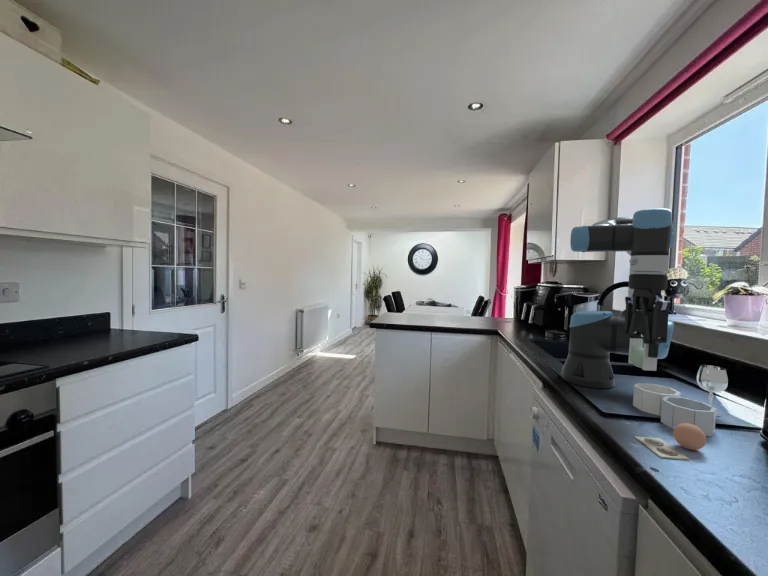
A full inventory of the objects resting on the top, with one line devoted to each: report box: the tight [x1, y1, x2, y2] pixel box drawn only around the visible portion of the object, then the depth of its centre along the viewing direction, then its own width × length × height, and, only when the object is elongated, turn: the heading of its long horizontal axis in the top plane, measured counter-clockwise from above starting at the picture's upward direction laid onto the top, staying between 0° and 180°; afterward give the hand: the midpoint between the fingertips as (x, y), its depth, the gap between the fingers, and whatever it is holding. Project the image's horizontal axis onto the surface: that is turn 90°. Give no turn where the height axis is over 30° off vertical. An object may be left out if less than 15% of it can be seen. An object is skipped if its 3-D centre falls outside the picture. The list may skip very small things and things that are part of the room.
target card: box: [634, 435, 690, 461], centre depth 69 cm, size 8×5×1 cm, turn 174°
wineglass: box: [696, 364, 729, 418], centre depth 87 cm, size 6×6×12 cm
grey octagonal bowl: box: [660, 396, 717, 437], centre depth 79 cm, size 9×9×6 cm
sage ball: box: [628, 348, 644, 369], centre depth 84 cm, size 5×5×5 cm
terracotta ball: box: [673, 423, 707, 451], centre depth 69 cm, size 5×5×5 cm
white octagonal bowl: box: [632, 382, 681, 417], centre depth 89 cm, size 9×9×6 cm
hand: (641, 366), depth 84 cm, fingers closed on sage ball, 5 cm apart
